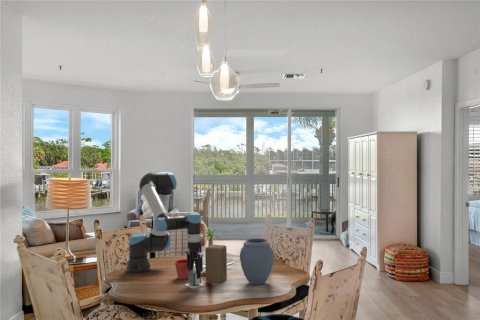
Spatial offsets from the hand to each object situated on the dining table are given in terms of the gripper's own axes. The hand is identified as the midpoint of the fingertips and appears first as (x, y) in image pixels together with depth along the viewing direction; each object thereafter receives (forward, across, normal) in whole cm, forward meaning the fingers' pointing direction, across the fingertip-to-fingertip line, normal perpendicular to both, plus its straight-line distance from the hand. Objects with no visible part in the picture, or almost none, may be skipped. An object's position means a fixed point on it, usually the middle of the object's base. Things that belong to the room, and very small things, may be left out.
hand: (194, 282), depth 234 cm
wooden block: (+2, 0, +15) cm, 15 cm away
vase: (+2, +20, +29) cm, 35 cm away
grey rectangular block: (0, 0, 0) cm, 0 cm away
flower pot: (+2, -19, +5) cm, 20 cm away
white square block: (+2, 0, 0) cm, 2 cm away
